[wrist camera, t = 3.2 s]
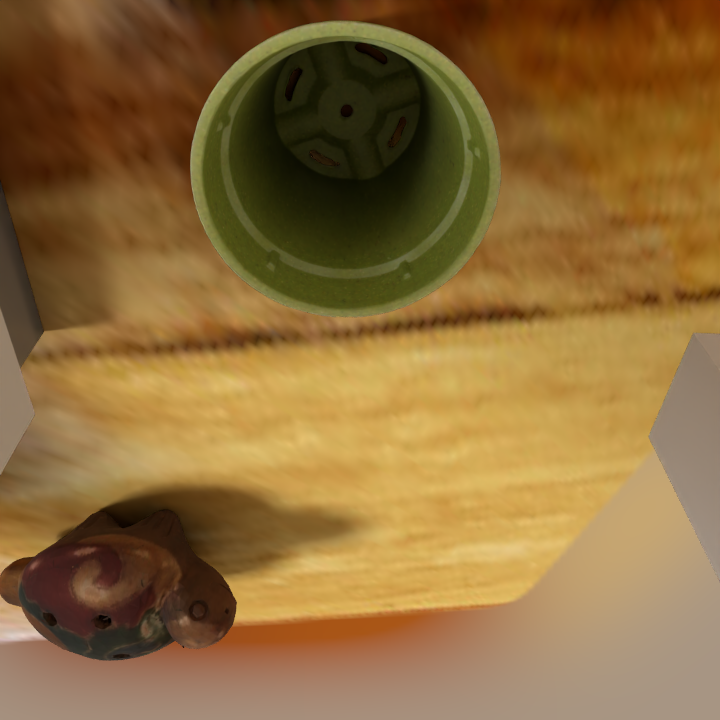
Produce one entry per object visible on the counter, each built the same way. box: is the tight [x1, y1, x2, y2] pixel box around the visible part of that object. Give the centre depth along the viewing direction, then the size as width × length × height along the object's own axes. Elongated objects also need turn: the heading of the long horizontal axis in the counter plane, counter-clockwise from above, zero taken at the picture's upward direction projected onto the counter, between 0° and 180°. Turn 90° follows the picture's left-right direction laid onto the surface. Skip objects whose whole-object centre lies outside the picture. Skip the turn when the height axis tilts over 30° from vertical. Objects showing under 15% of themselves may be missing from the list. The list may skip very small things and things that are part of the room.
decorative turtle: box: [0, 510, 237, 660], centre depth 41 cm, size 10×15×8 cm, turn 101°
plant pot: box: [190, 21, 501, 317], centre depth 24 cm, size 9×9×9 cm
